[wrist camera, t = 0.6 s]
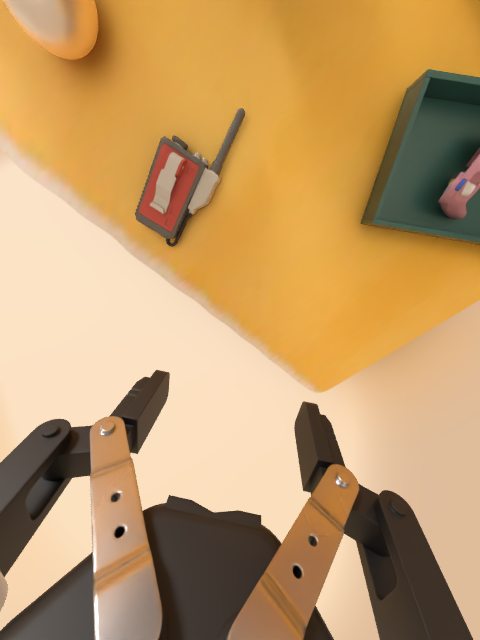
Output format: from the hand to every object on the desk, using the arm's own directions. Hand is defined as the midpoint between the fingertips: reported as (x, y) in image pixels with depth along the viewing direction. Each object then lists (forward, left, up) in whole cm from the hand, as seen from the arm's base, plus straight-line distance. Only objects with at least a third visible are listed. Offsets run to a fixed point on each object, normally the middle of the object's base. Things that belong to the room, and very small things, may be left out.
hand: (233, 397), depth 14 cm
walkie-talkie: (-14, -12, -28) cm, 33 cm away
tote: (-20, +24, -27) cm, 42 cm away
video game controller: (-20, +24, -27) cm, 41 cm away
